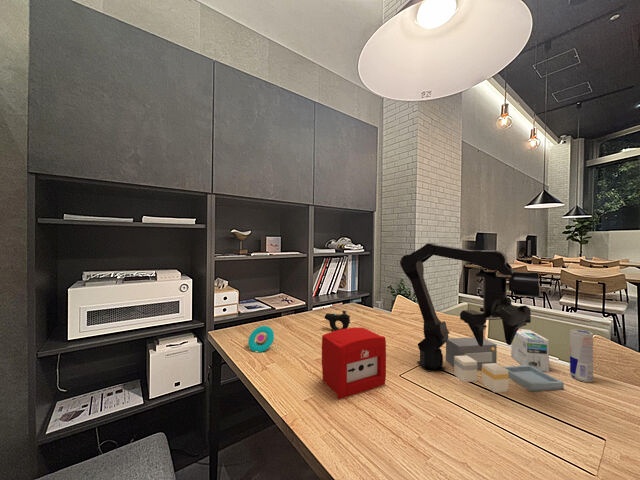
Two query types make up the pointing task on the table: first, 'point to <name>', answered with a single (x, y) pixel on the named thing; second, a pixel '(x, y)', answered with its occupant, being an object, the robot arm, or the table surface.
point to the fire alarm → (353, 361)
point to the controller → (338, 317)
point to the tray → (533, 378)
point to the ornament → (261, 339)
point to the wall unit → (471, 350)
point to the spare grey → (465, 368)
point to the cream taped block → (495, 377)
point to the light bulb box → (531, 349)
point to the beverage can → (581, 355)
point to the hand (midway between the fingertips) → (494, 345)
